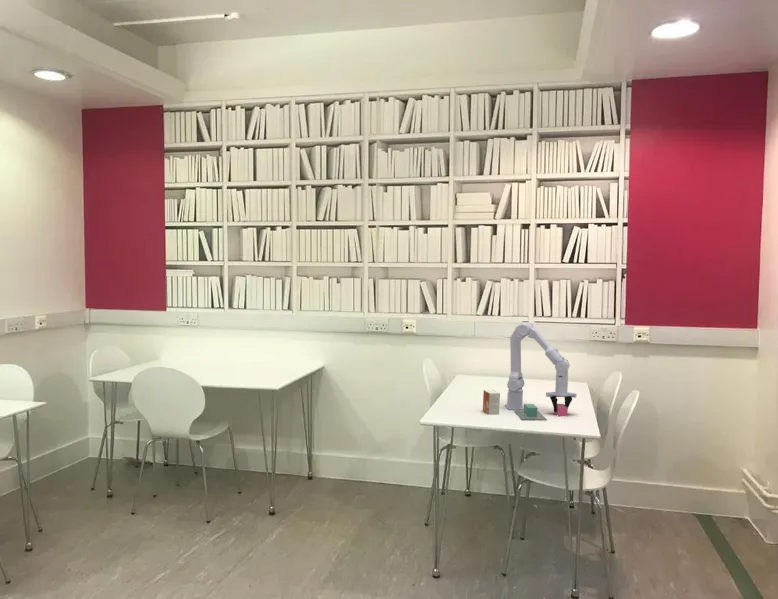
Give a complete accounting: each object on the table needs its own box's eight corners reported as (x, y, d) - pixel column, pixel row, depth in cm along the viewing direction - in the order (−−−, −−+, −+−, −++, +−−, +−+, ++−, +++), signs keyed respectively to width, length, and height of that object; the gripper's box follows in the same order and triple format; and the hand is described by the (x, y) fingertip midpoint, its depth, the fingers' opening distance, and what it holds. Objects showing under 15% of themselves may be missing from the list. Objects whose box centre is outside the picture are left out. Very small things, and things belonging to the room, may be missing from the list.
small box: (482, 410, 311) (483, 389, 310) (493, 410, 312) (493, 389, 311) (488, 414, 303) (489, 393, 302) (499, 414, 304) (500, 392, 304)
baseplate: (514, 412, 310) (514, 410, 310) (538, 412, 310) (538, 411, 310) (521, 420, 294) (521, 418, 294) (547, 420, 294) (547, 419, 294)
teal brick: (523, 412, 306) (524, 403, 305) (533, 413, 306) (533, 404, 305) (527, 416, 298) (527, 407, 297) (537, 417, 298) (537, 407, 297)
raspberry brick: (553, 412, 311) (553, 403, 311) (562, 412, 311) (563, 403, 311) (557, 416, 303) (558, 407, 303) (567, 416, 303) (567, 407, 303)
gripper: (549, 385, 302) (547, 413, 303) (578, 386, 302) (577, 413, 303) (545, 382, 309) (544, 409, 310) (574, 383, 309) (573, 410, 310)
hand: (560, 411), depth 307 cm, fingers closed on raspberry brick, 5 cm apart
